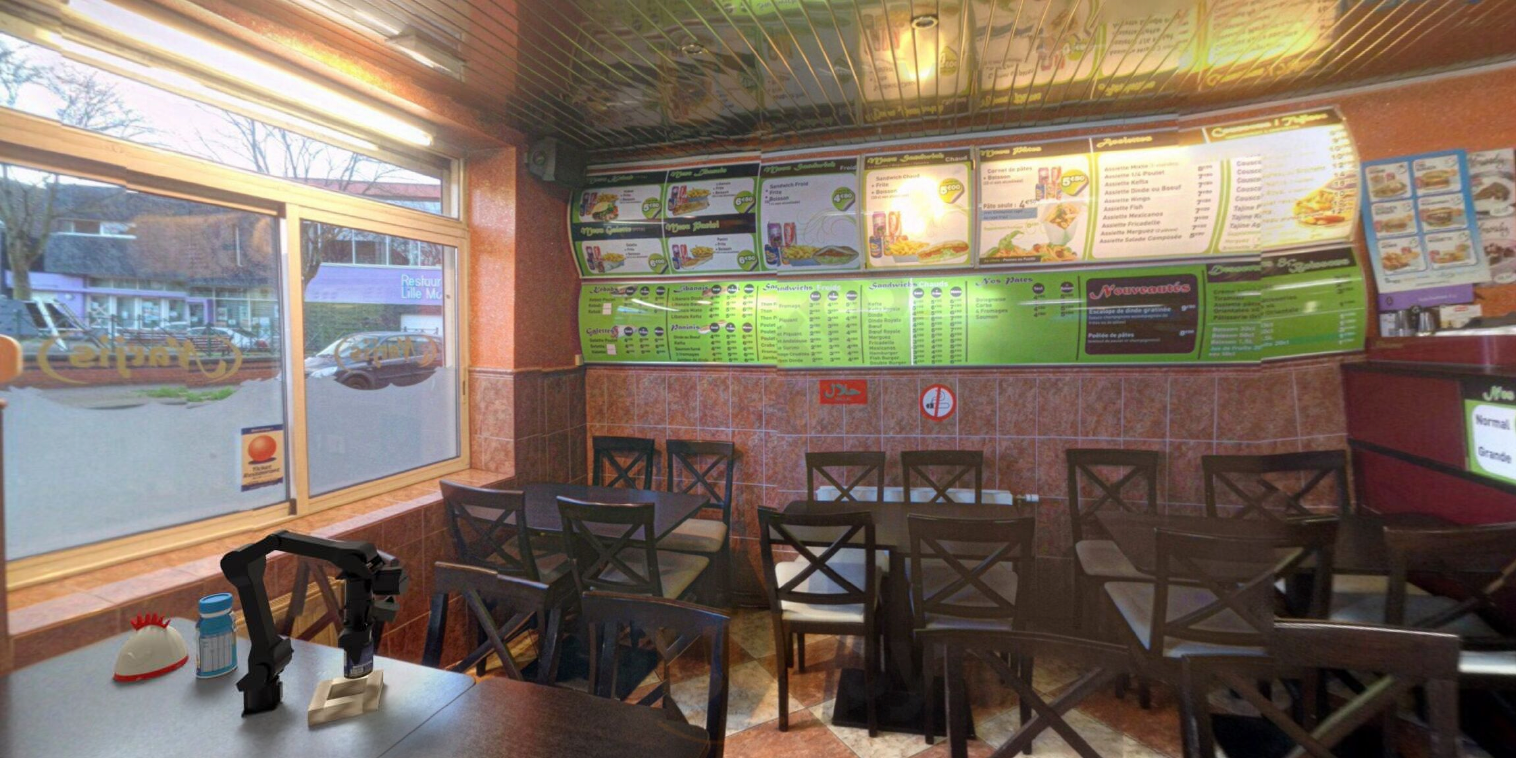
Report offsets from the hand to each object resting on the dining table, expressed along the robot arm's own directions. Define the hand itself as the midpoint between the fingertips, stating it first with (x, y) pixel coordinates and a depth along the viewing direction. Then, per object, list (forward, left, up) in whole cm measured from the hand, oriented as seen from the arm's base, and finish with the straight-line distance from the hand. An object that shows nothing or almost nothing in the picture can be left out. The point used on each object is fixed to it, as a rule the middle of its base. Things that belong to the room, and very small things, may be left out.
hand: (358, 657), depth 145 cm
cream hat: (-51, +42, -11) cm, 67 cm away
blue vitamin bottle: (-35, +32, -11) cm, 49 cm away
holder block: (-2, 0, -11) cm, 11 cm away
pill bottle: (0, 0, -4) cm, 4 cm away
